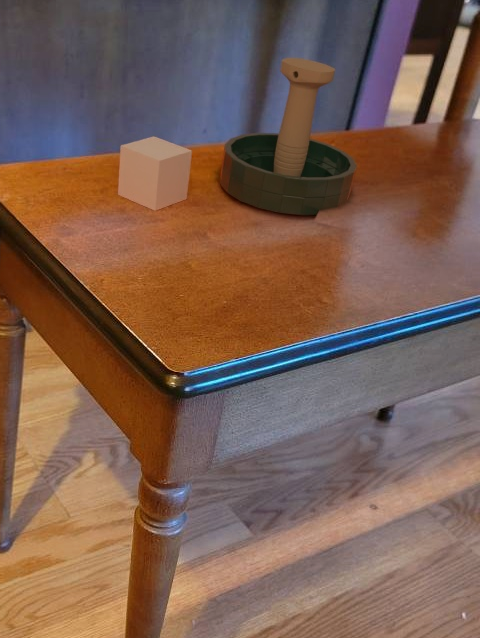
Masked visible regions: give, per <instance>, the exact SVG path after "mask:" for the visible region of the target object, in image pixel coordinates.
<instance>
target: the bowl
mask: <svg viewBox="0 0 480 638" xmlns="http://www.w3.org/2000/svg"><path fill="white" fill-rule="evenodd" d="M278 136H279V132H278V133H275V132H255V133H254V132H253V133H245V134H243V133H242V134H240V135H237V136H234V137H231V138H229V140H227V142H225V143H224V147H223V153H222V161H221V168H220V174H219V182H220V183H219V184H220V186H221V188H222V189H223V190H224V191H225V192H226V193H227V194H228V195H229V196H231V197H232V198H234V199H236V200H238V201H239V202H242V203H244V204H247V205H249V206H252V207H255V208H258V209H261V210H266V211H270V212H275V213H279V214H286V215H287V214H288V215H295V216H296V215H297V216H315V215H316V216H318V214H319V212H320V211H324V210H329V209H332V208H333V209H334V208H338V207H340V206H341V205H343V204H345V203H347V202H348V200H349V198H350V195H351V191H352V188H353V185H354V179H355V175H356V172H357V169H358V164H357V163H356V161H355V158H354V157H353V156H351V155H349V154H348V153H347V152H345V151H344V150H343V149H340V148H338V147H336V146H334V145H332V144H329V143H326V142H323V141H320V140H316V139H314V138H310V141H309V146H308V151H307V156H306V160H305V164H304V167H303V170H302V173H301V176H300V177H299V176H290V175H283V174H279V173H274V158H275V152H276V151H275V150H276V145H277V141H278Z"/></svg>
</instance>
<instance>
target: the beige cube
mask: <svg viewBox="0 0 480 638" xmlns="http://www.w3.org/2000/svg"><path fill="white" fill-rule="evenodd" d="M119 152H120V153H119V168H118V169H119V171H118V188H117V195H118V196H120V197H122V198H124V199H126V200H129V201H132V202H134V203H135V204H138V205H140V206H143V207H145V208H147V209H149V210H152V211H154V212H156V211H158V210H161V209H164V208H167V207H169V206H172V205H174V204H178V203H180V202H182V201H185V200H188V199H187V198H188V192H189V191H188V190H189V181H190V175H191V174H190V172H191V165H192V155H193V149H189V148H186V147H184V146H182V145H178V144H176V143H173V142H170V141H167V140H165V139H162V138H159V137H157V136H150V137H147V138H142V139H140V140H135V141H131V142H129V143H125V144H121V145H120V151H119Z"/></svg>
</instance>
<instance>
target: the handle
mask: <svg viewBox="0 0 480 638" xmlns="http://www.w3.org/2000/svg"><path fill="white" fill-rule="evenodd" d="M335 72H336V68H335V67H332V66H330V65H329V64H325V63H323V62H319V61H315V60H311V59H305V58H301V57H285V58H282V59H281V64H280V73H281V74H282V75H283V76H284V77H285V78H286V79H287V80H288V82H289V88H288V95H287V98H286V102H285V107H284V112H283V116H282V120H281V125H280V129H279V132H278V134H279V136H278V141H277V145H276V150H275V151H276V152H275V158H274V173H279V174H283V175H290V176H299V177H300V176H301V173H302V170H303V167H304V164H305V160H306V156H307V151H308V146H309V141H310V139H311V133H312V126H313V119H314V113H315V108H316V107H315V106H316V101H317V95H318V92H319V89H320V88H321V87H323V86H325V85H328V84H330V83H331V82H333V80H334V78H335Z"/></svg>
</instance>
